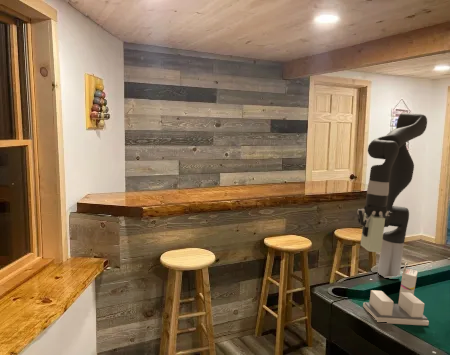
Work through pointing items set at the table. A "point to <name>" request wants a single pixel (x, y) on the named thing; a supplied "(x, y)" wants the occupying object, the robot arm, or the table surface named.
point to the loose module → (373, 234)
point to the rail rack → (396, 309)
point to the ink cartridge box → (408, 280)
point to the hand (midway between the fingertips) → (371, 236)
